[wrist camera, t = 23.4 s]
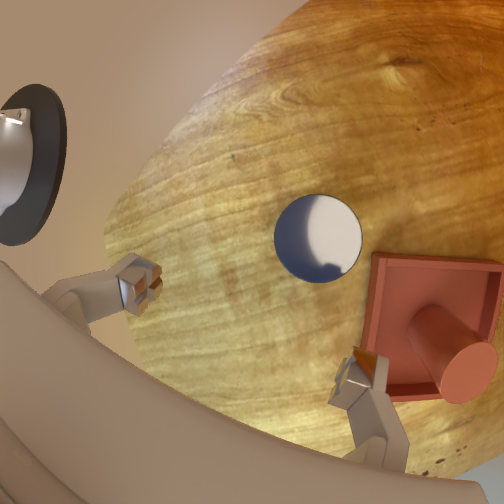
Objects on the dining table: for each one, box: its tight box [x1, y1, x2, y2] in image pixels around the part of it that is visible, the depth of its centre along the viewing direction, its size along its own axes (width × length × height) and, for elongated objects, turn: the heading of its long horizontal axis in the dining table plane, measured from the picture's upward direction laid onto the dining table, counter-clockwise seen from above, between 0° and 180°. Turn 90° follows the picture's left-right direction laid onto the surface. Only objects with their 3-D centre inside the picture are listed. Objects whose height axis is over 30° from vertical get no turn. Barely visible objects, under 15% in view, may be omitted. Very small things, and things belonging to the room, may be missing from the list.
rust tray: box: [360, 253, 504, 402], centre depth 26 cm, size 15×15×3 cm
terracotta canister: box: [407, 304, 498, 404], centre depth 22 cm, size 6×6×10 cm
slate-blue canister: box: [274, 194, 363, 283], centre depth 23 cm, size 6×6×10 cm
